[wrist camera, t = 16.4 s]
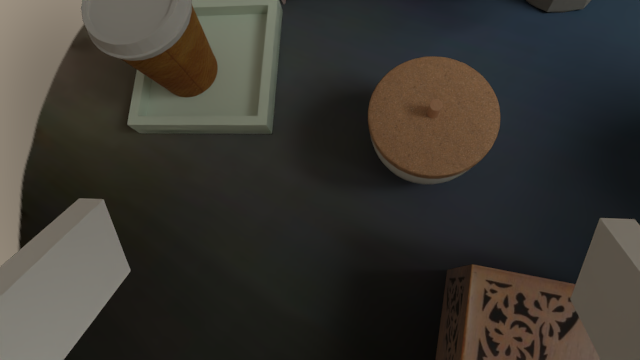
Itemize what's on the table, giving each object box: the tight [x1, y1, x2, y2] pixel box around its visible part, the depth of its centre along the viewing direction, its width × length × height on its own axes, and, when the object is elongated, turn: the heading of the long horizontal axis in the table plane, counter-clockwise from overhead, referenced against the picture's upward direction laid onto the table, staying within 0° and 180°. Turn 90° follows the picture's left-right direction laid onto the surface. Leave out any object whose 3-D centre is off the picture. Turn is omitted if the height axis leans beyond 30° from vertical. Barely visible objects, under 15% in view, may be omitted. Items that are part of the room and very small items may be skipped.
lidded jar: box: [368, 57, 500, 184], centre depth 37 cm, size 11×11×9 cm
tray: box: [127, 0, 283, 134], centre depth 45 cm, size 15×15×2 cm
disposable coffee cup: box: [81, 0, 218, 97], centre depth 40 cm, size 10×10×12 cm
